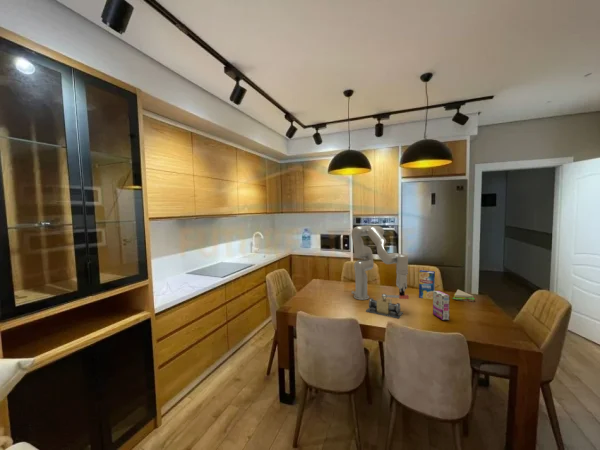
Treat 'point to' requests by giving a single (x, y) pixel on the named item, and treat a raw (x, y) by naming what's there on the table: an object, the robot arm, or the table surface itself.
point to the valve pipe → (384, 308)
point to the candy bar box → (441, 305)
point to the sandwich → (463, 296)
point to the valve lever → (396, 296)
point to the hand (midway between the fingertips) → (401, 297)
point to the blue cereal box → (426, 284)
